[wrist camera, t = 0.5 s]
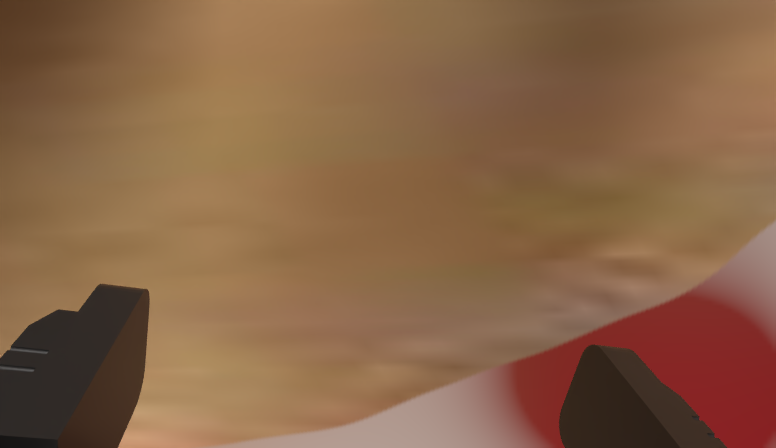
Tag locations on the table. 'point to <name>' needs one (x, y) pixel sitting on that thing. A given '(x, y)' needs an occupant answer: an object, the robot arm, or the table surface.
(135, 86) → the table surface
